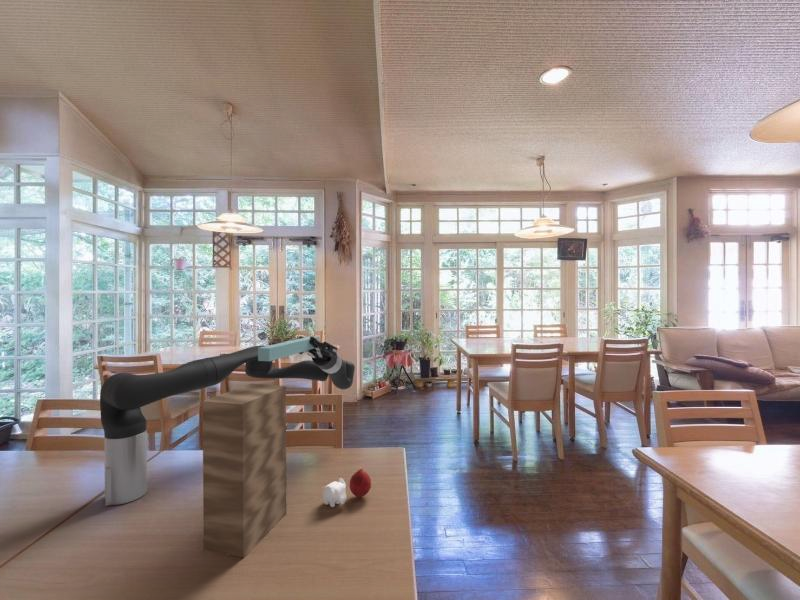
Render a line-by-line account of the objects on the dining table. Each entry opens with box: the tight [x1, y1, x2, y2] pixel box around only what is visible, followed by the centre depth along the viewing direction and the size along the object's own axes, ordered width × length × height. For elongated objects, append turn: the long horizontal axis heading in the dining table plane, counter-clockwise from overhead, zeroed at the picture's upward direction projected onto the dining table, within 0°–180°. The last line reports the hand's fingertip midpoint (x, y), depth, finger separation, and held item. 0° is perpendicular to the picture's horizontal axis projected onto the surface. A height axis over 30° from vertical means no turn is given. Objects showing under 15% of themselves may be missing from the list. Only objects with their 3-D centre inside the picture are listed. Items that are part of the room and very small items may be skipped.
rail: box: [258, 336, 320, 361], centre depth 103 cm, size 26×3×3 cm, turn 165°
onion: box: [349, 467, 372, 499], centre depth 98 cm, size 6×6×8 cm
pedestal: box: [202, 383, 287, 559], centre depth 85 cm, size 16×10×32 cm, turn 165°
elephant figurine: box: [321, 477, 348, 508], centre depth 95 cm, size 7×8×6 cm
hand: (305, 339), depth 110 cm, fingers closed on rail, 3 cm apart
